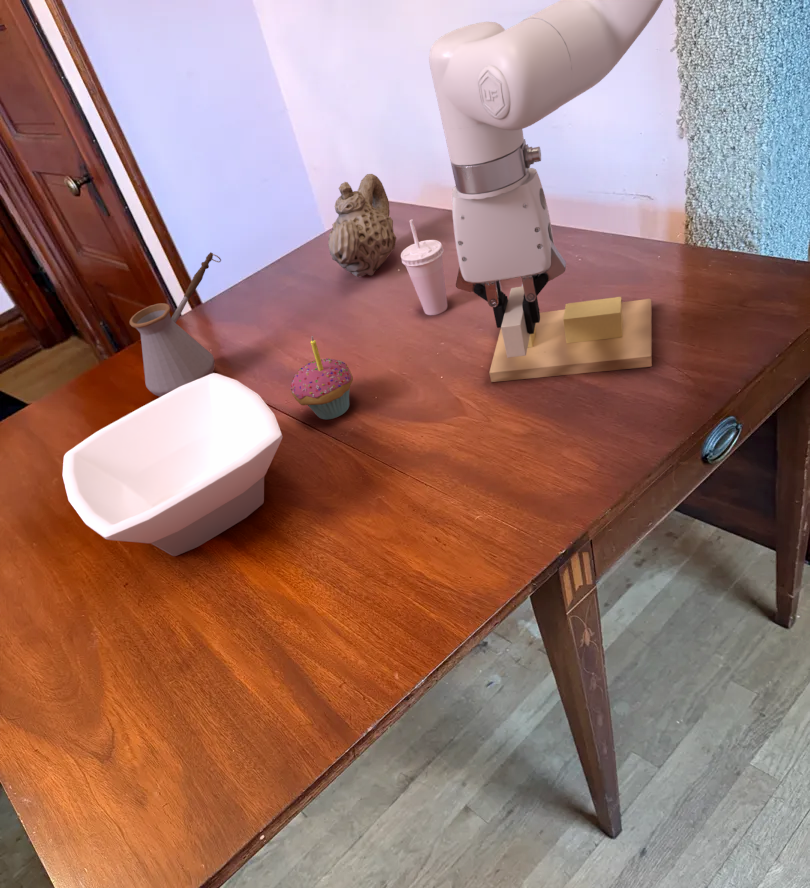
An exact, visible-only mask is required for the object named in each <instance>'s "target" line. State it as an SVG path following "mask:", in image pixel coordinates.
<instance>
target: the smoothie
mask: <svg viewBox="0 0 810 888" xmlns="http://www.w3.org/2000/svg"><path fill="white" fill-rule="evenodd" d="M408 222H409V225H410V229H411V232H412V237H413V241H414V243H412V244H410V245H409V246H407V247H406V248H404V249H403V250H402V251H401V252H400V258H401V264H403V265H404V266H405V268H406V270H407V273H408V275H409V278H410V281H411V282H412V286H413V287H414V290H415V292H416V295H417V298H418V300H419V302H420V305H421V308H422V309H423V312H424V314H425V315H427V316H437V315H439V314H442V313H444V312H445V311H446V310H447V309H448V307H449V306H448V299H447V298H448V297H447V289H446V287H447V286H446V279H445V269H444V261H443V254H444V248H443V244H442V242H441V241H440V240H436V239H426V240H421V241H419V239H418V234H417V230H416V226H415V223H414V219H413V218H412V219H409V221H408Z"/></svg>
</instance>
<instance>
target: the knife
mask: <svg viewBox="0 0 810 888" xmlns="http://www.w3.org/2000/svg"><path fill="white" fill-rule="evenodd" d="M523 299H524V288H523V283H522V282H521V286H516V287H515V286H514V287H511V288H510V291H509V295H508V303H507V307H506V311H505V314H504V318H503V322H502V326H501V328H500V329H501V330H502V334H503V339H504V344H505V349H506V354H507V358H509V357H518V356H526V353H527V348H528V343H529V338H530V334H529V333H527V328H526V322H525V317H524V311H523V308H522V303H523Z"/></svg>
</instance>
